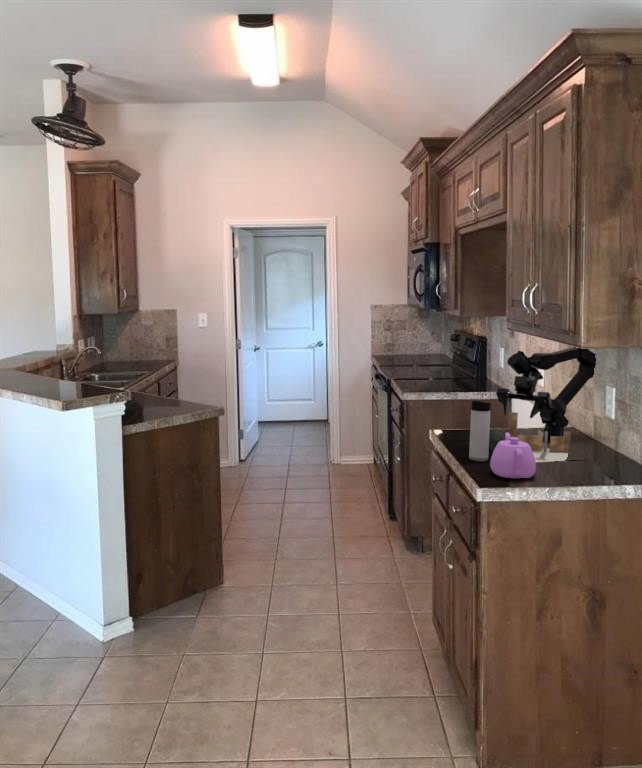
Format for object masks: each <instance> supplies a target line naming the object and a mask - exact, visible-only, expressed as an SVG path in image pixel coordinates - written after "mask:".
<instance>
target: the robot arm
mask: <svg viewBox="0 0 642 768" xmlns="http://www.w3.org/2000/svg"><path fill="white" fill-rule="evenodd" d="M595 355H597V354H596V353H594V352H592V351H591V350H590V349H588V348H587V349H581V348H576V347H575V346H573V347H569V348H566V349H561V350H558V351H554V352H535V353H532V355H531V356H529V357H527V355H526V354H525V352H524V351H521V350H518V351H517V352H516V353H513V354H512V355H511V356H510V357H508V358H507V362H506V363H507V365H508V366H509V367H510V368H511V369H512V370H513V371H514V372H515V373H516V374H517V375H516V376H515V377H514V382H513V385H514V386H515V387H514V391H515V392H510V389H509V388H507V387H506V388H503V387H498V388H497V389H496V393H495V394H496V397H497V400H498V402H499V403H501V405H502V406H503V414H504V415H503V416H507V414H508V411H509V409H510V405H511V403H510V402H511V399H513V400H521V401H528V402H534V404H533V407H532V409H531V412H530V415H529V418H530V419H533V418H534V417H535V416H536V415H537V414H538V413H539V417H540V420H541V424H544V428H543V435H542V436H543V441H544V437H545V431H547V432H548V438H547V443H550V437H551V436H563V434H564V431H565V428H567V427H568V425H569V420H568V418H567V417H566V413H567V406H568V405H569V404H570V403H571V401H572V400H573V399H574V398H575V397H576V395H577V394H578V393H579V392H580V391H581V390H582V389H583V387H584V386H585V385H586V384H587V382H589V380H590V379H592V378H594V377H593V375H594V368H595V365H596V363H595V362H596V358H595ZM575 359H576V361H577V362H578V363H579V364H578V369H577V370H578V371H577V372H576V374H574V376H573V377H572V378H571V379H570V380H569V382H568V383H567V384H566V385H565V386H564V387H563V389H562V390H561V391H560V393H559V394H558V395H557V396H556V397H555V398H551V394H550V392H549V391H547V392H546V391H537V389H536V388H537V384H538V381H540V380H542V379H543V380H544V377H543V375H542V373H541V371H540V370H543V371H547V370H549V369H550V370H551V369H552V368H554V367H555V366H556V365H557V364H560V363H565V362H568V361H572V360H575ZM519 375H521V376H519ZM536 391H537V395H535V394H534V392H535V393H536Z"/></svg>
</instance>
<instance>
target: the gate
mask: <svg viewBox="0 0 642 768" xmlns="http://www.w3.org/2000/svg"><path fill="white" fill-rule="evenodd" d="M518 418H519V413H518V412H515V411H514V412H513V411H512V412H511V411H510V412H509V414H508V430H507V431H508V433H509V434H510V437H517V438H519V441H523V442H526V443H528V444H529V445H530V447H531V450H532V451H542V449H543V446H544V440H543V435H517V433H518V420H519V419H518Z"/></svg>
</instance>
